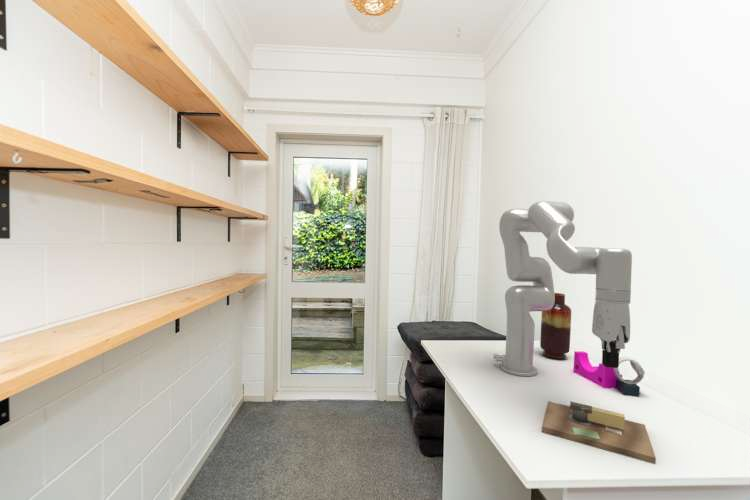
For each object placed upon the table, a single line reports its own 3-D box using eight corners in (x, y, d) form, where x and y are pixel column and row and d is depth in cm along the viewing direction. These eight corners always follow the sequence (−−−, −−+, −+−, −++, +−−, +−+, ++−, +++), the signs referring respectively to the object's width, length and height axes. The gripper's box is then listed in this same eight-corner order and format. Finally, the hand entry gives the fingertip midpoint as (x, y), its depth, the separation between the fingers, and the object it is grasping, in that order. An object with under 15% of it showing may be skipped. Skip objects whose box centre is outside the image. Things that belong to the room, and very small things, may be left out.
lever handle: (569, 419, 88) (570, 405, 88) (569, 413, 92) (570, 399, 91) (624, 433, 82) (625, 418, 82) (622, 426, 86) (623, 412, 85)
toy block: (621, 388, 115) (622, 366, 114) (604, 388, 114) (605, 366, 114) (588, 371, 130) (589, 351, 129) (573, 371, 129) (574, 351, 129)
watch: (646, 397, 108) (648, 363, 107) (617, 394, 109) (619, 360, 109) (637, 390, 113) (639, 357, 113) (609, 387, 115) (611, 354, 115)
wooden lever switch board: (541, 434, 85) (542, 425, 85) (547, 407, 99) (548, 400, 99) (655, 467, 74) (655, 456, 74) (644, 432, 88) (644, 423, 87)
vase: (545, 349, 154) (548, 291, 153) (573, 355, 146) (576, 294, 145) (535, 354, 146) (538, 293, 146) (563, 361, 138) (566, 297, 137)
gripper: (584, 291, 97) (582, 356, 98) (611, 299, 83) (608, 375, 83) (613, 292, 96) (611, 358, 96) (646, 301, 81) (643, 378, 82)
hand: (610, 366), depth 90 cm, fingers closed
